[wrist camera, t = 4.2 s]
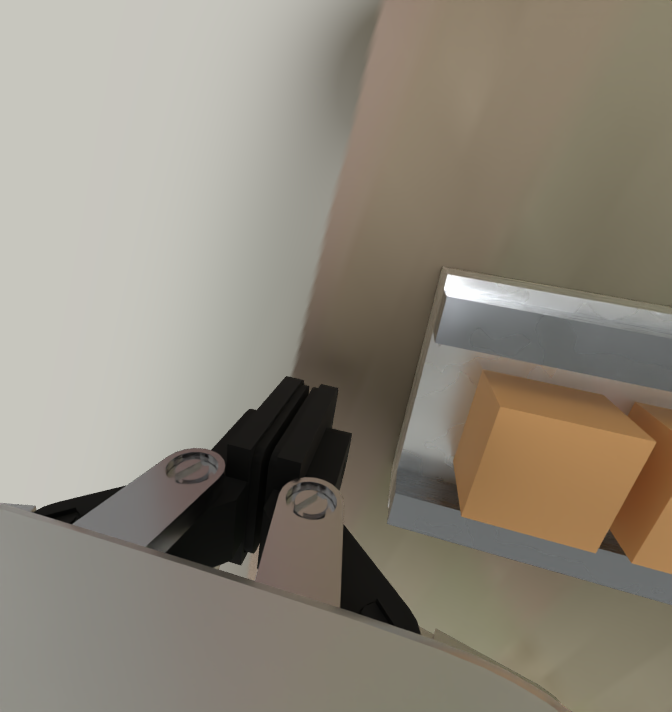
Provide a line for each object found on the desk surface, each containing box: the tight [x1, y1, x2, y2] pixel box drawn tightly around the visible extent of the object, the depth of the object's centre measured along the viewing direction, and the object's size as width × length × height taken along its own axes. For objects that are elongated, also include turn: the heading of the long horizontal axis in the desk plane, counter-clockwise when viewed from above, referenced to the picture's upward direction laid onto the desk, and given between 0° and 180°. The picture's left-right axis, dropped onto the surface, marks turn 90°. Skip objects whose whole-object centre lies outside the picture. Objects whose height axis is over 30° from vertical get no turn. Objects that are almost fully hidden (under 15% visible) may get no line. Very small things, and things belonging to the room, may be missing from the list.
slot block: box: [387, 266, 672, 605], centre depth 14 cm, size 14×10×4 cm
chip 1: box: [453, 369, 657, 553], centre depth 12 cm, size 4×4×3 cm
